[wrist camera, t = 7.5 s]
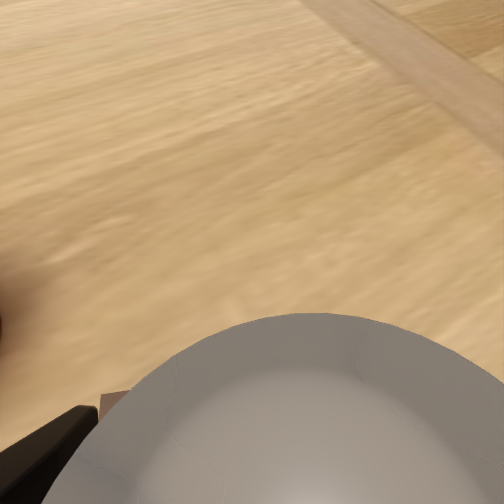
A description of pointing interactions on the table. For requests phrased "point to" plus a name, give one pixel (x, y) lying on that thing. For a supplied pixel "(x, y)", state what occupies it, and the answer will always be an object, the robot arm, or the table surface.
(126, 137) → the table surface
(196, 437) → the shaker
